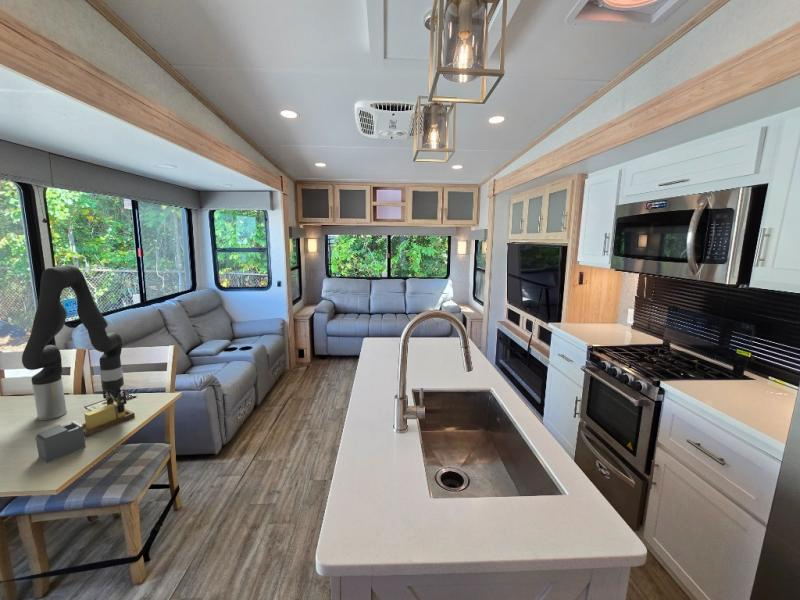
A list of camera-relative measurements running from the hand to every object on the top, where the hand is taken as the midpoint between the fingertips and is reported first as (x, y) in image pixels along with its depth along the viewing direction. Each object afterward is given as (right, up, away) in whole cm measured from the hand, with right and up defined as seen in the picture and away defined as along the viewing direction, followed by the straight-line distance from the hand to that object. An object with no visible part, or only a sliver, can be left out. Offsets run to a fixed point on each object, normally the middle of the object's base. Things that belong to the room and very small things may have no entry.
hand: (116, 409), depth 150 cm
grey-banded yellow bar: (-2, -5, -3) cm, 6 cm away
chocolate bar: (-16, -2, +16) cm, 22 cm away
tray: (-2, -5, -3) cm, 6 cm away
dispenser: (-1, -9, -21) cm, 23 cm away
